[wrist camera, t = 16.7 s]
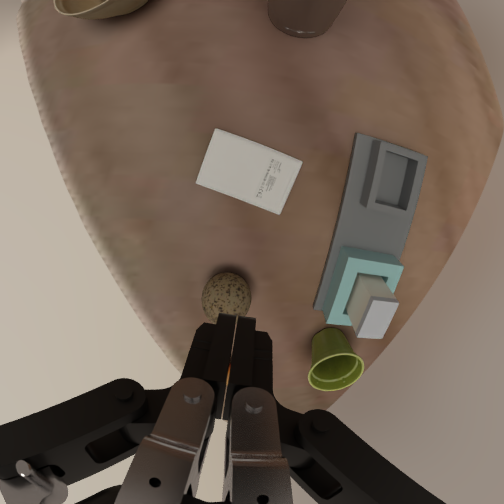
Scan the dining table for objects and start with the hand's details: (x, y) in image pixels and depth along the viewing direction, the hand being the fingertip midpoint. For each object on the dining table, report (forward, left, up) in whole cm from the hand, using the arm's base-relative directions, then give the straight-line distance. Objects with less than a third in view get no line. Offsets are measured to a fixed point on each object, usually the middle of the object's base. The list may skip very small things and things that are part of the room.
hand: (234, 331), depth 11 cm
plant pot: (+24, +17, -29) cm, 41 cm away
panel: (+3, +18, -29) cm, 34 cm away
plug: (+11, +18, -28) cm, 35 cm away
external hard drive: (-3, -2, -30) cm, 30 cm away
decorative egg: (+15, -2, -29) cm, 33 cm away
